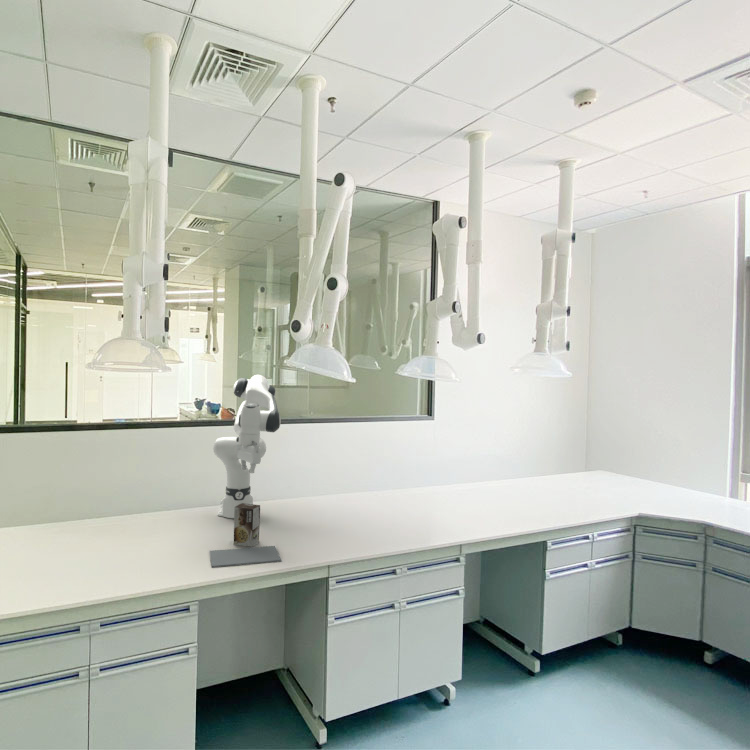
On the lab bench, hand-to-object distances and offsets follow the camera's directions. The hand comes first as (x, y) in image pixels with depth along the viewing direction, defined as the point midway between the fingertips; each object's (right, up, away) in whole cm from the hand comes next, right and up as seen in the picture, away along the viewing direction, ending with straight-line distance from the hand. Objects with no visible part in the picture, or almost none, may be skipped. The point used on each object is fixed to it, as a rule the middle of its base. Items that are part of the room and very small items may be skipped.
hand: (247, 471), depth 228 cm
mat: (+5, -29, -24) cm, 38 cm away
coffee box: (+2, -29, -10) cm, 31 cm away
